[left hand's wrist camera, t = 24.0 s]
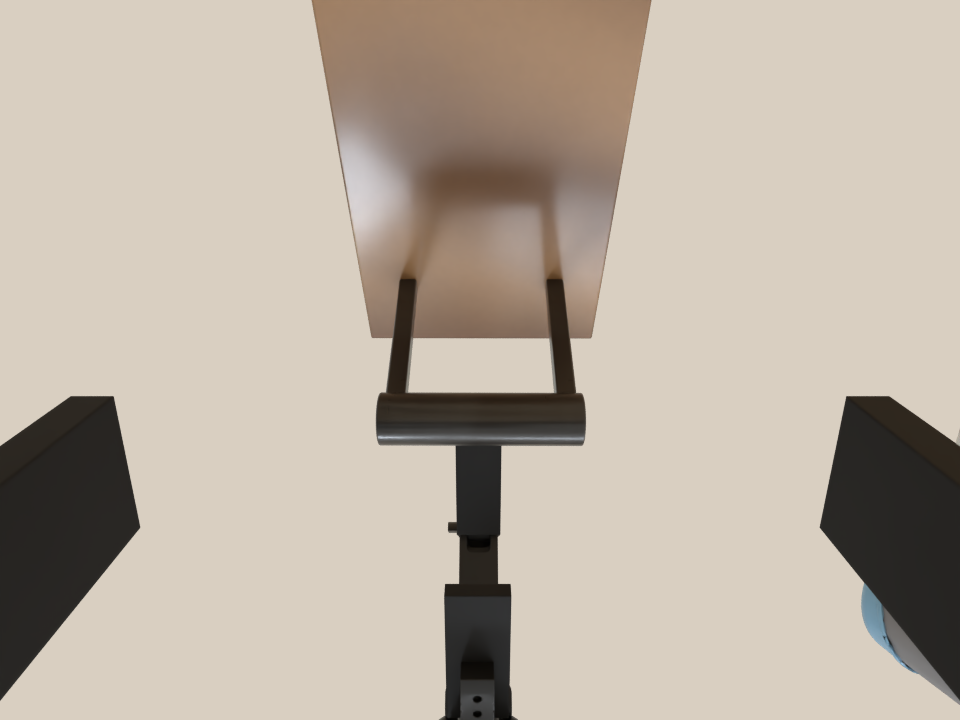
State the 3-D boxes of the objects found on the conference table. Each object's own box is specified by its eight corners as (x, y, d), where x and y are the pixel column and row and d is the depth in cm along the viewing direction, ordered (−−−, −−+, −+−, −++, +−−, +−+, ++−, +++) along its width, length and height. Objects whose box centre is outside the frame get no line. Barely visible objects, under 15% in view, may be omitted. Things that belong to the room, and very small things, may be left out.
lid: (589, 321, 31) (613, 491, 25) (374, 320, 31) (348, 490, 25) (655, -75, 19) (730, 75, 13) (307, -74, 19) (230, 75, 13)
